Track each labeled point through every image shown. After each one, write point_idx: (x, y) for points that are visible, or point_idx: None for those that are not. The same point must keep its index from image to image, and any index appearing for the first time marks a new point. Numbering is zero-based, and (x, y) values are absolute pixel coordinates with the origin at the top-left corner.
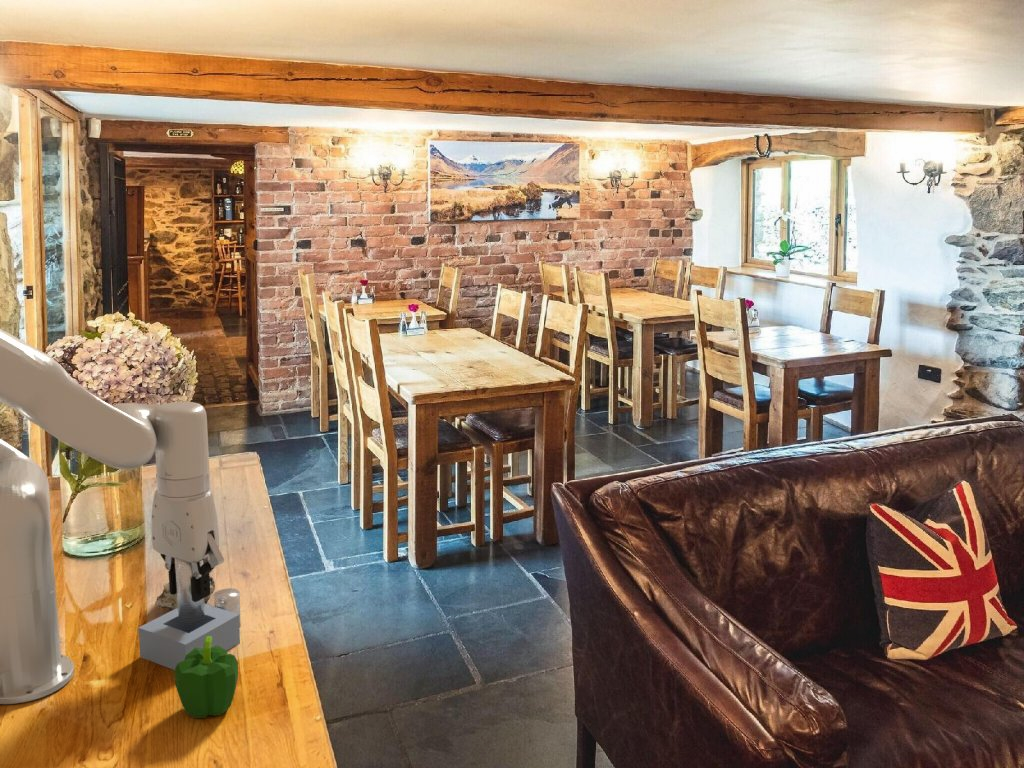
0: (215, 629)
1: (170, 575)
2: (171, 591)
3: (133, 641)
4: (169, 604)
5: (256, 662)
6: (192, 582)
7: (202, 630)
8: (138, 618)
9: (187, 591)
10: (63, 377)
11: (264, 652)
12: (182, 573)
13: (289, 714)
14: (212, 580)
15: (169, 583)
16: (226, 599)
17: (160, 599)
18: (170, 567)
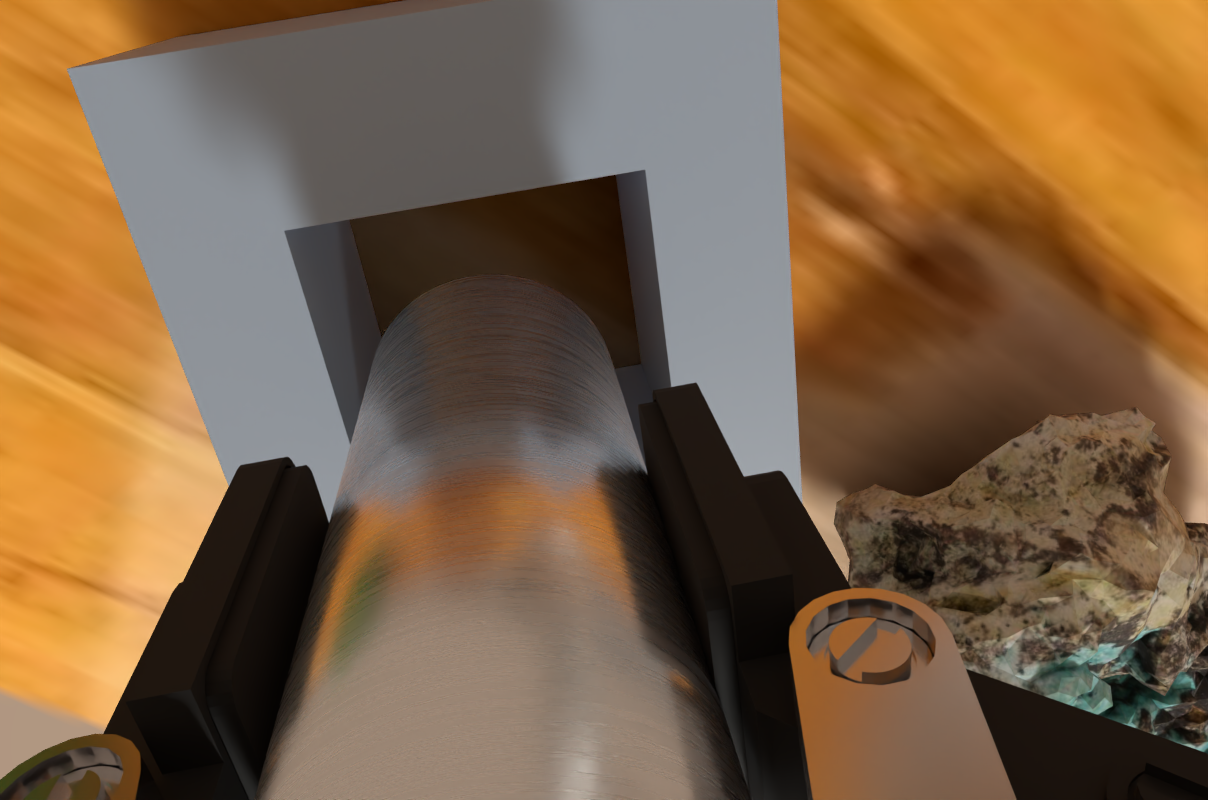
0: (214, 432)
1: (723, 538)
2: (666, 401)
3: (940, 65)
4: (1013, 457)
5: (19, 459)
6: (180, 638)
7: (242, 341)
8: (1158, 277)
9: (356, 501)
10: None
11: (114, 555)
12: (365, 674)
13: None
14: None
15: (724, 451)
16: None
17: (1113, 447)
18: (792, 651)
